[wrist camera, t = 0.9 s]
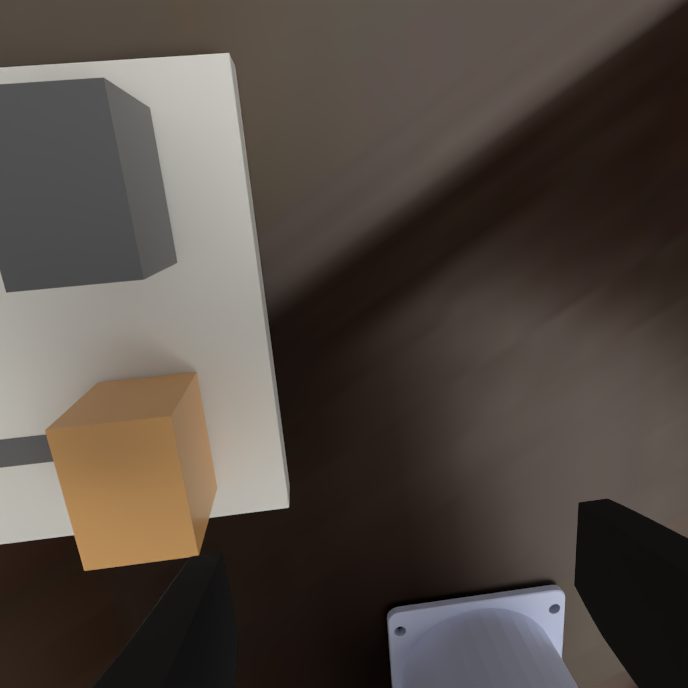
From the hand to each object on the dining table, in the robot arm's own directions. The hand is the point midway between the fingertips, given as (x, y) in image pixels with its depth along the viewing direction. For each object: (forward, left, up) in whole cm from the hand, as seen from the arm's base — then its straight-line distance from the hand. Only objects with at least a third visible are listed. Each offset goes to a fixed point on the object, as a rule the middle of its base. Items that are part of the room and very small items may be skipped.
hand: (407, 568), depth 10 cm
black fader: (+8, +7, -8) cm, 13 cm away
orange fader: (0, +7, -8) cm, 10 cm away
